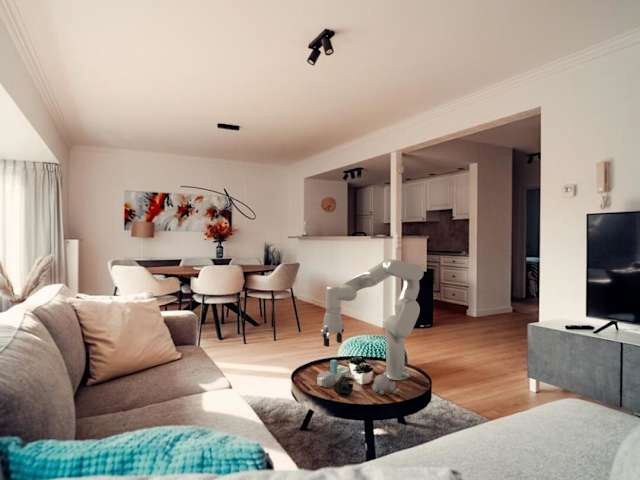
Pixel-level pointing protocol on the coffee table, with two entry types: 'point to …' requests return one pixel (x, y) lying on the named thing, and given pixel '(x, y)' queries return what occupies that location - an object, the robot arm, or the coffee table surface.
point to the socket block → (343, 371)
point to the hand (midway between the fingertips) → (332, 344)
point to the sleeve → (327, 378)
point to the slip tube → (332, 369)
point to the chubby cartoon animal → (383, 385)
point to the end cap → (343, 386)
